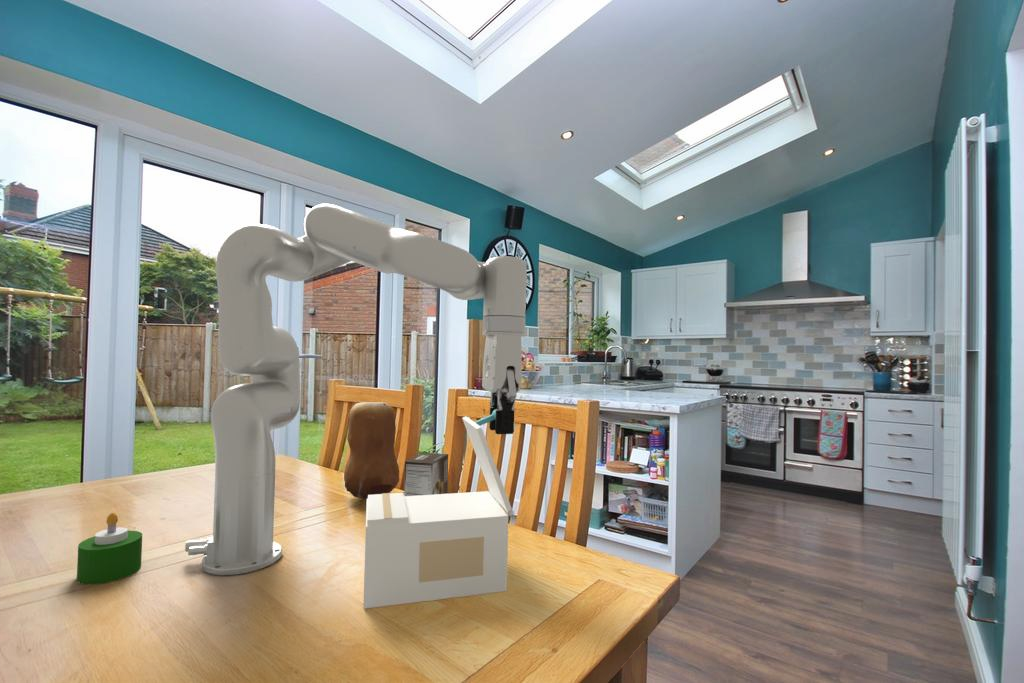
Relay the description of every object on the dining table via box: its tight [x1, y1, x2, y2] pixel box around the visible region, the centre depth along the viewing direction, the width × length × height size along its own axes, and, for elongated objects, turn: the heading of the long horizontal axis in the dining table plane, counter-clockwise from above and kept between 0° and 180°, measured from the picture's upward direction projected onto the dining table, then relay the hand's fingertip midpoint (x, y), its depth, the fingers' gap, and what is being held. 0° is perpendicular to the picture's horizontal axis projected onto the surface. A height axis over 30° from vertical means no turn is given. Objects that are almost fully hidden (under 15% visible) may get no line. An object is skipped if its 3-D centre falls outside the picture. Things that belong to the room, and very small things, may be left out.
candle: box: [76, 512, 143, 585], centre depth 81 cm, size 8×8×10 cm
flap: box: [461, 409, 515, 517], centre depth 84 cm, size 16×13×6 cm
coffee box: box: [403, 452, 449, 496], centre depth 100 cm, size 9×6×16 cm
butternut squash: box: [343, 401, 400, 500], centre depth 123 cm, size 14×13×25 cm
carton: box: [363, 490, 509, 610], centre depth 81 cm, size 22×14×13 cm, turn 106°
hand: (501, 430), depth 84 cm, fingers closed on flap, 3 cm apart
